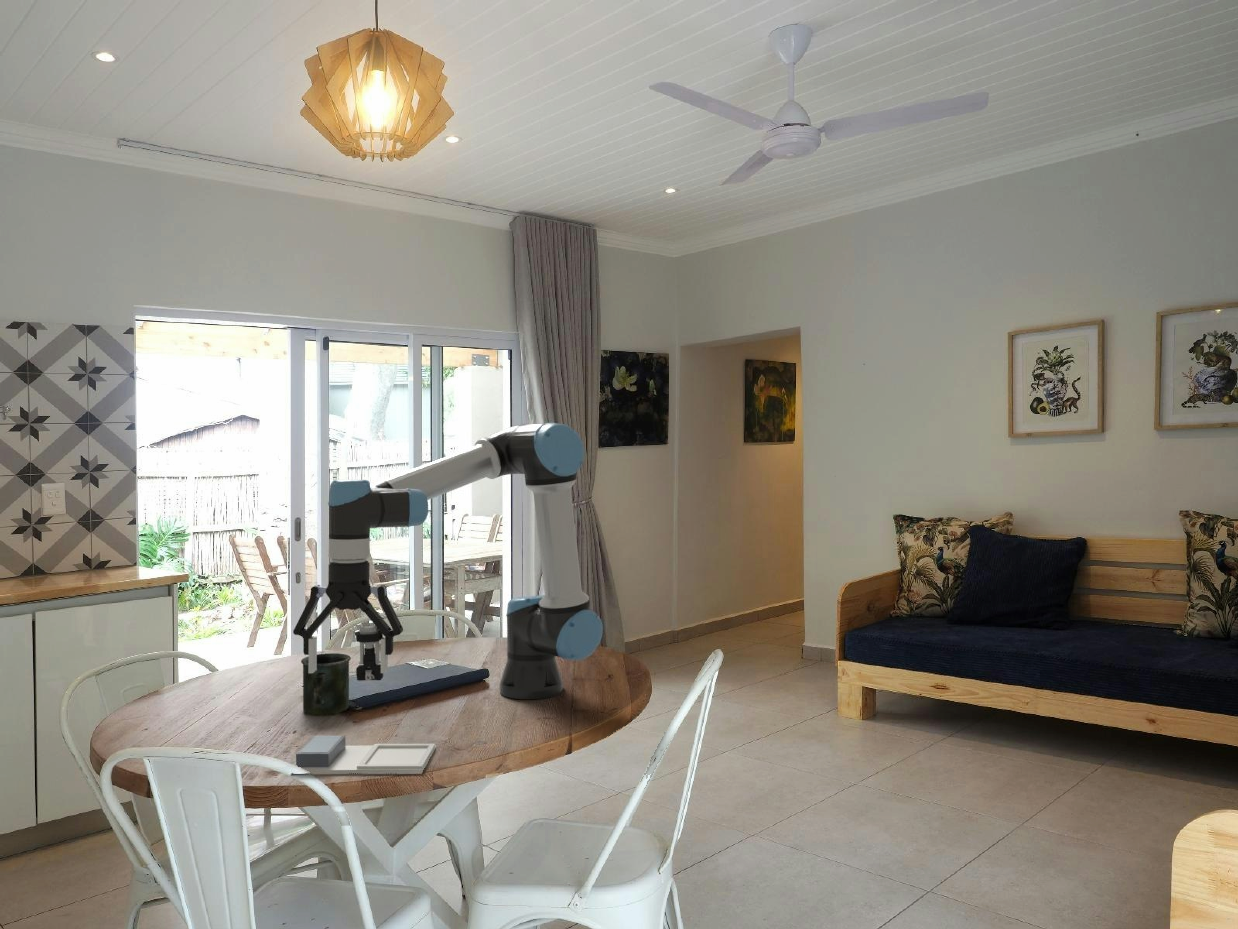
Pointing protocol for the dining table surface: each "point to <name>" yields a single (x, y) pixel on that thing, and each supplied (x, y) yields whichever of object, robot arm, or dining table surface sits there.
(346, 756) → the board
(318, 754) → the blue-grey rectangular block
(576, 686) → the dining table surface
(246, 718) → the dining table surface
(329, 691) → the mug
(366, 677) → the push button
